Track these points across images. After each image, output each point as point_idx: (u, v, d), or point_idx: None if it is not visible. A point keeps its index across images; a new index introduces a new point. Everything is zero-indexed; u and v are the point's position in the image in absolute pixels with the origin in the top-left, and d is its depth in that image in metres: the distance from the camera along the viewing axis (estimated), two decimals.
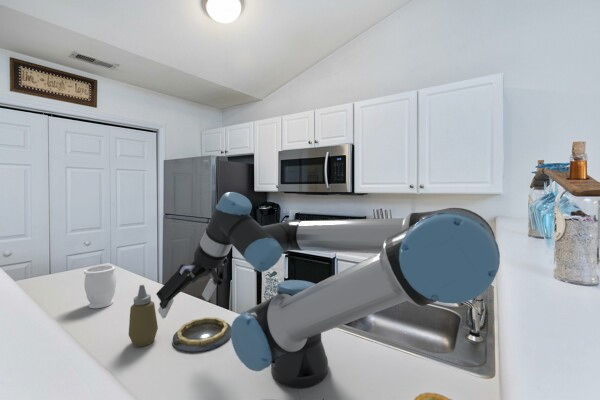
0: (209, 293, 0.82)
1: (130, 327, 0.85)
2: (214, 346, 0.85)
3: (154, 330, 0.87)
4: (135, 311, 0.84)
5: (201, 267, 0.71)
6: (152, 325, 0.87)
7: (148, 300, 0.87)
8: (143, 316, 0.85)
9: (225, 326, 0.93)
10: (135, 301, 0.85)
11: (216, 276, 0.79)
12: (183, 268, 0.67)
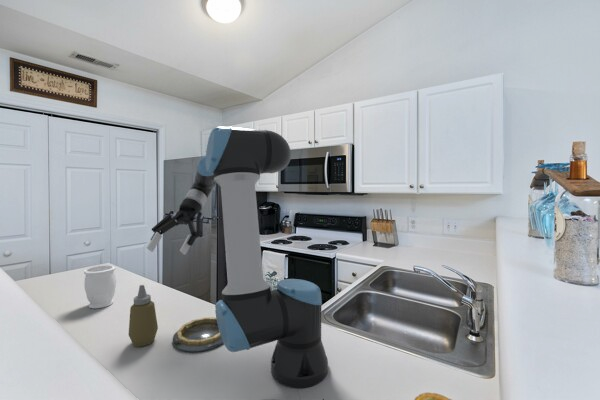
0: None
1: (130, 327, 0.85)
2: (214, 346, 0.85)
3: (154, 330, 0.87)
4: (135, 311, 0.84)
5: (180, 211, 1.06)
6: (152, 325, 0.87)
7: (148, 300, 0.87)
8: (143, 316, 0.85)
9: None
10: (135, 301, 0.85)
11: (190, 225, 1.00)
12: None
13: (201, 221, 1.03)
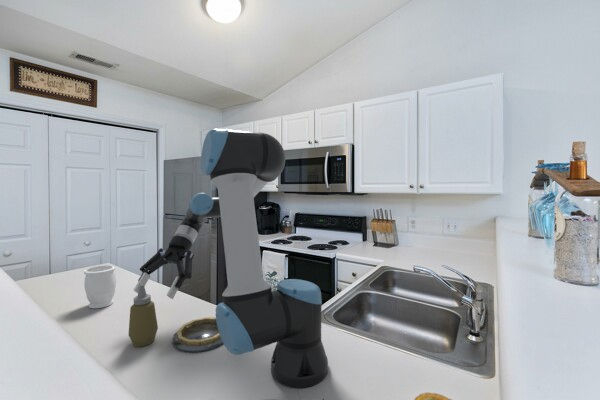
0: None
1: (130, 327, 0.85)
2: (214, 346, 0.85)
3: (154, 330, 0.87)
4: (135, 311, 0.84)
5: (169, 249, 1.03)
6: (151, 325, 0.87)
7: (148, 300, 0.87)
8: (143, 316, 0.85)
9: None
10: (135, 301, 0.85)
11: (179, 265, 0.97)
12: None
13: (190, 260, 0.99)
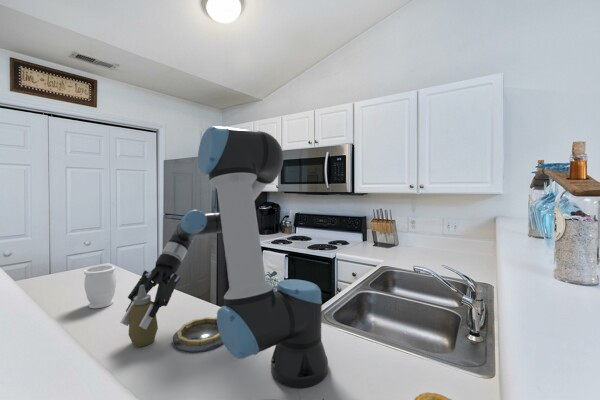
0: None
1: (130, 327, 0.85)
2: (214, 346, 0.85)
3: (154, 330, 0.87)
4: (135, 311, 0.84)
5: (156, 268, 0.96)
6: (151, 325, 0.87)
7: (148, 300, 0.87)
8: (143, 316, 0.85)
9: None
10: (135, 301, 0.85)
11: (159, 289, 0.90)
12: None
13: (173, 285, 0.91)
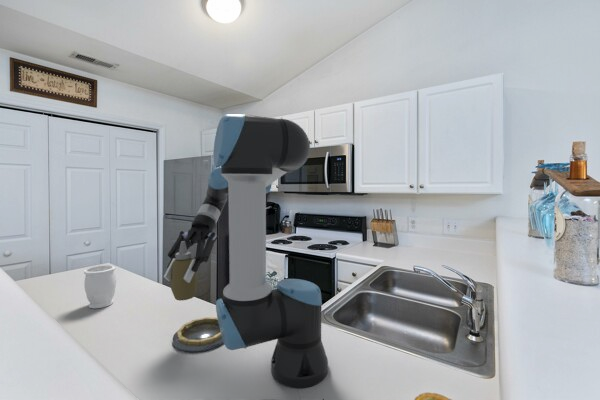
0: None
1: (173, 281, 0.87)
2: (214, 346, 0.85)
3: (195, 285, 0.89)
4: (179, 265, 0.86)
5: (192, 228, 0.98)
6: (193, 279, 0.89)
7: (189, 256, 0.89)
8: (186, 271, 0.87)
9: None
10: (177, 256, 0.87)
11: (199, 246, 0.92)
12: None
13: (212, 243, 0.94)
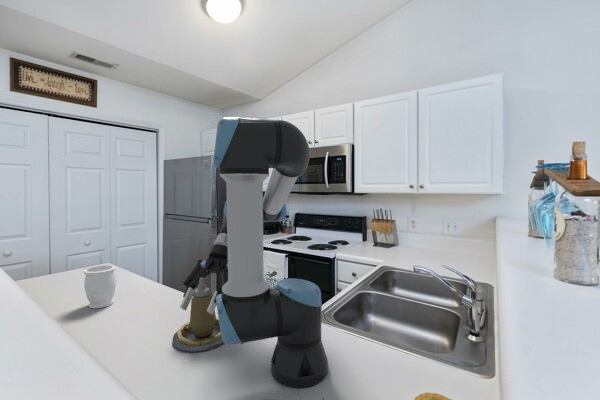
0: None
1: (192, 318, 0.88)
2: (214, 346, 0.85)
3: (214, 321, 0.91)
4: (198, 302, 0.88)
5: (210, 258, 0.99)
6: (212, 316, 0.90)
7: (208, 292, 0.90)
8: (205, 308, 0.88)
9: None
10: (196, 293, 0.89)
11: (219, 277, 0.93)
12: None
13: None
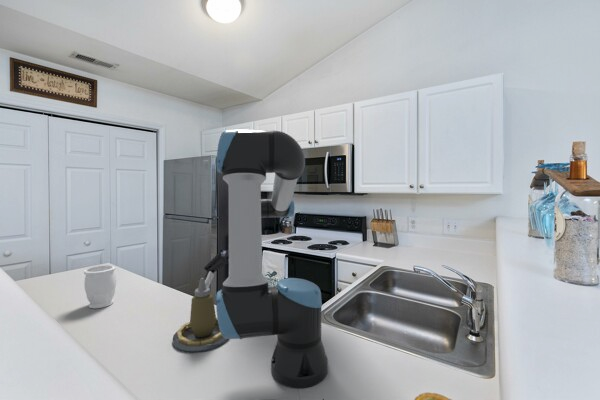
0: None
1: (192, 318, 0.88)
2: (214, 346, 0.85)
3: (214, 321, 0.91)
4: (198, 303, 0.88)
5: None
6: (212, 316, 0.90)
7: (208, 292, 0.90)
8: (205, 308, 0.88)
9: None
10: (197, 293, 0.89)
11: None
12: None
13: None
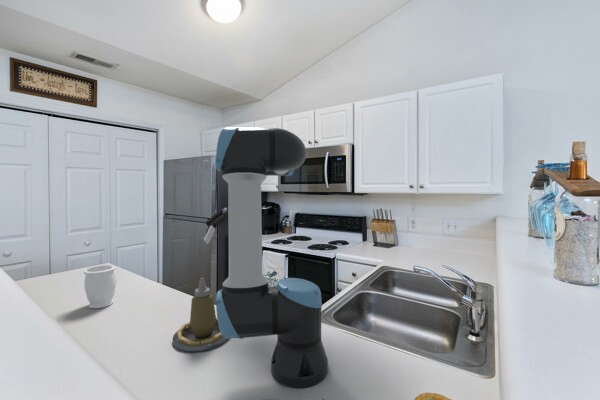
0: None
1: (192, 318, 0.88)
2: (214, 346, 0.85)
3: (214, 321, 0.91)
4: (198, 303, 0.88)
5: None
6: (212, 316, 0.90)
7: (208, 292, 0.90)
8: (205, 308, 0.88)
9: None
10: (197, 293, 0.89)
11: None
12: None
13: None
